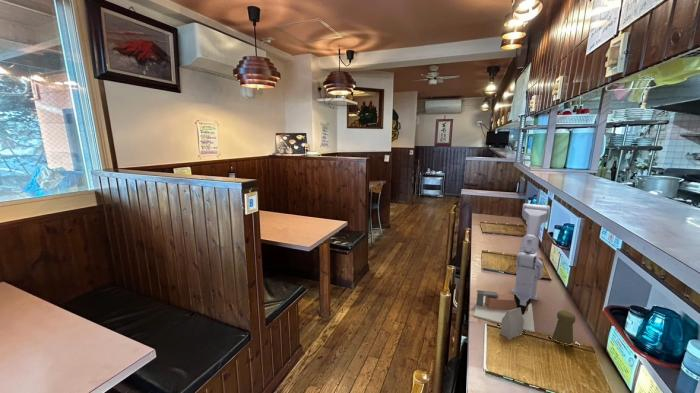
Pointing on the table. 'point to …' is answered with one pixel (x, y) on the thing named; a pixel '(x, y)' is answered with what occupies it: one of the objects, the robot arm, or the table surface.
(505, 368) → the table surface
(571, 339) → the cork
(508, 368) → the table surface
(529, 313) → the board
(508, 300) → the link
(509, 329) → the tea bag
